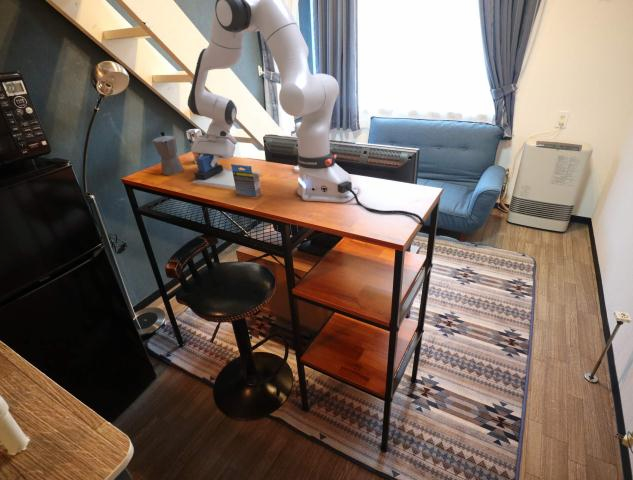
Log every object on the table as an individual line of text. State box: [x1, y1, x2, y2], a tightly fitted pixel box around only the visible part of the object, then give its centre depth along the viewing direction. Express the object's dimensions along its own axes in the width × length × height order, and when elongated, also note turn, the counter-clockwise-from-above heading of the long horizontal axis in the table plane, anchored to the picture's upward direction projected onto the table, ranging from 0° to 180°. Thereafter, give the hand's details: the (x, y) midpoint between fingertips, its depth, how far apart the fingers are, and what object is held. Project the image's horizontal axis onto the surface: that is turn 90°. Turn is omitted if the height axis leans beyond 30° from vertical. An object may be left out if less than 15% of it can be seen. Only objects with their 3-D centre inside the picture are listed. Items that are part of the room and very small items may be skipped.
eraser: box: [193, 154, 224, 180], centre depth 145 cm, size 5×12×8 cm, turn 154°
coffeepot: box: [152, 131, 184, 176], centre depth 152 cm, size 15×9×18 cm, turn 27°
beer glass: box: [185, 128, 203, 165], centre depth 163 cm, size 7×7×15 cm
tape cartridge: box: [230, 163, 262, 197], centre depth 124 cm, size 9×4×12 cm, turn 65°
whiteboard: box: [192, 168, 261, 190], centre depth 143 cm, size 22×18×1 cm
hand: (206, 165), depth 144 cm, fingers closed on eraser, 3 cm apart
